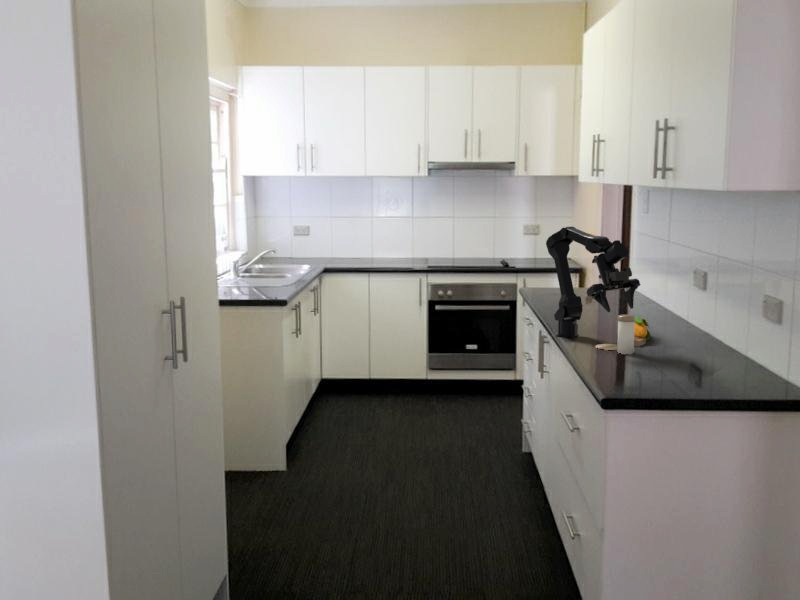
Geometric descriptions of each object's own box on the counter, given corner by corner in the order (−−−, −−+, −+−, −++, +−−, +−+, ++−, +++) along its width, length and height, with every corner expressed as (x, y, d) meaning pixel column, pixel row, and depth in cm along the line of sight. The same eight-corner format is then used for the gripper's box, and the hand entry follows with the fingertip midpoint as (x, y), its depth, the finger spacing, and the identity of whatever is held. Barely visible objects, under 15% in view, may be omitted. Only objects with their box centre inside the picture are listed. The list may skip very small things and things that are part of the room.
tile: (623, 344, 302) (623, 339, 302) (629, 341, 307) (630, 336, 306) (639, 346, 298) (639, 341, 298) (645, 343, 303) (645, 338, 303)
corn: (645, 313, 319) (654, 323, 300) (646, 333, 321) (654, 344, 301) (626, 315, 321) (633, 324, 301) (627, 334, 322) (633, 345, 302)
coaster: (591, 348, 296) (591, 347, 296) (602, 344, 303) (602, 342, 303) (615, 351, 291) (615, 350, 291) (625, 347, 298) (625, 345, 298)
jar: (614, 353, 289) (615, 316, 286) (621, 350, 293) (621, 314, 291) (630, 355, 285) (631, 318, 283) (636, 352, 289) (637, 315, 287)
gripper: (594, 263, 284) (608, 305, 279) (641, 257, 290) (655, 298, 285) (580, 276, 294) (593, 316, 289) (625, 270, 300) (639, 309, 295)
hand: (620, 310), depth 289 cm, fingers open, 9 cm apart
